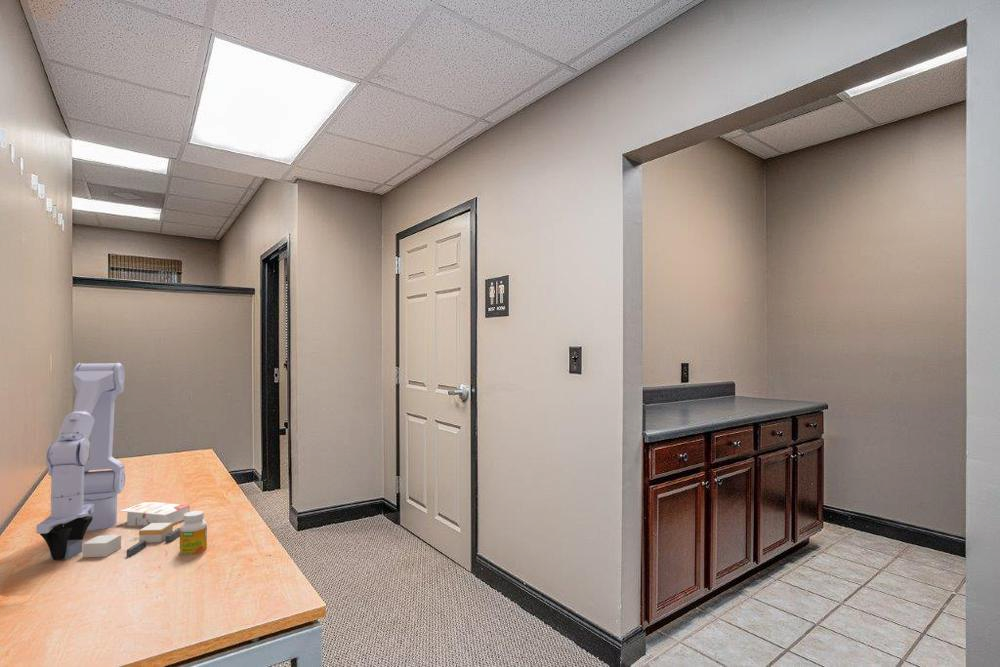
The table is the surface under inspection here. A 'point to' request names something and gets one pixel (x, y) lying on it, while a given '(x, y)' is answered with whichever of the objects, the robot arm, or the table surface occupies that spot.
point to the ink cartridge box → (155, 513)
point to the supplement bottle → (193, 533)
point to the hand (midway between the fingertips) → (66, 554)
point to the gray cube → (72, 548)
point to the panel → (142, 544)
